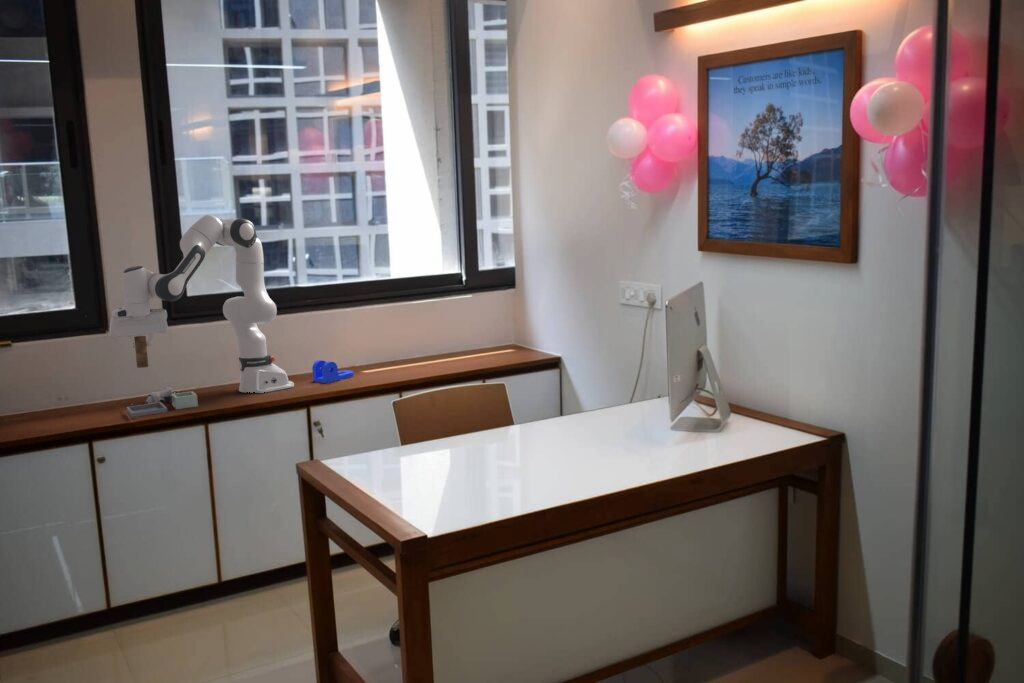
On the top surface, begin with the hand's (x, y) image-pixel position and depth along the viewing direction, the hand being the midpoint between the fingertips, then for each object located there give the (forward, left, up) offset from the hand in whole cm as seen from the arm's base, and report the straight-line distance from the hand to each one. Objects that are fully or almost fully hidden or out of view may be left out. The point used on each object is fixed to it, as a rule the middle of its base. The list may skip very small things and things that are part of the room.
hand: (140, 346), depth 348 cm
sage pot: (-14, 0, -26) cm, 29 cm away
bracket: (-80, -15, -26) cm, 86 cm away
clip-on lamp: (-6, -13, -26) cm, 30 cm away
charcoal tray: (0, 0, -26) cm, 26 cm away
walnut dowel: (0, 0, -8) cm, 8 cm away
